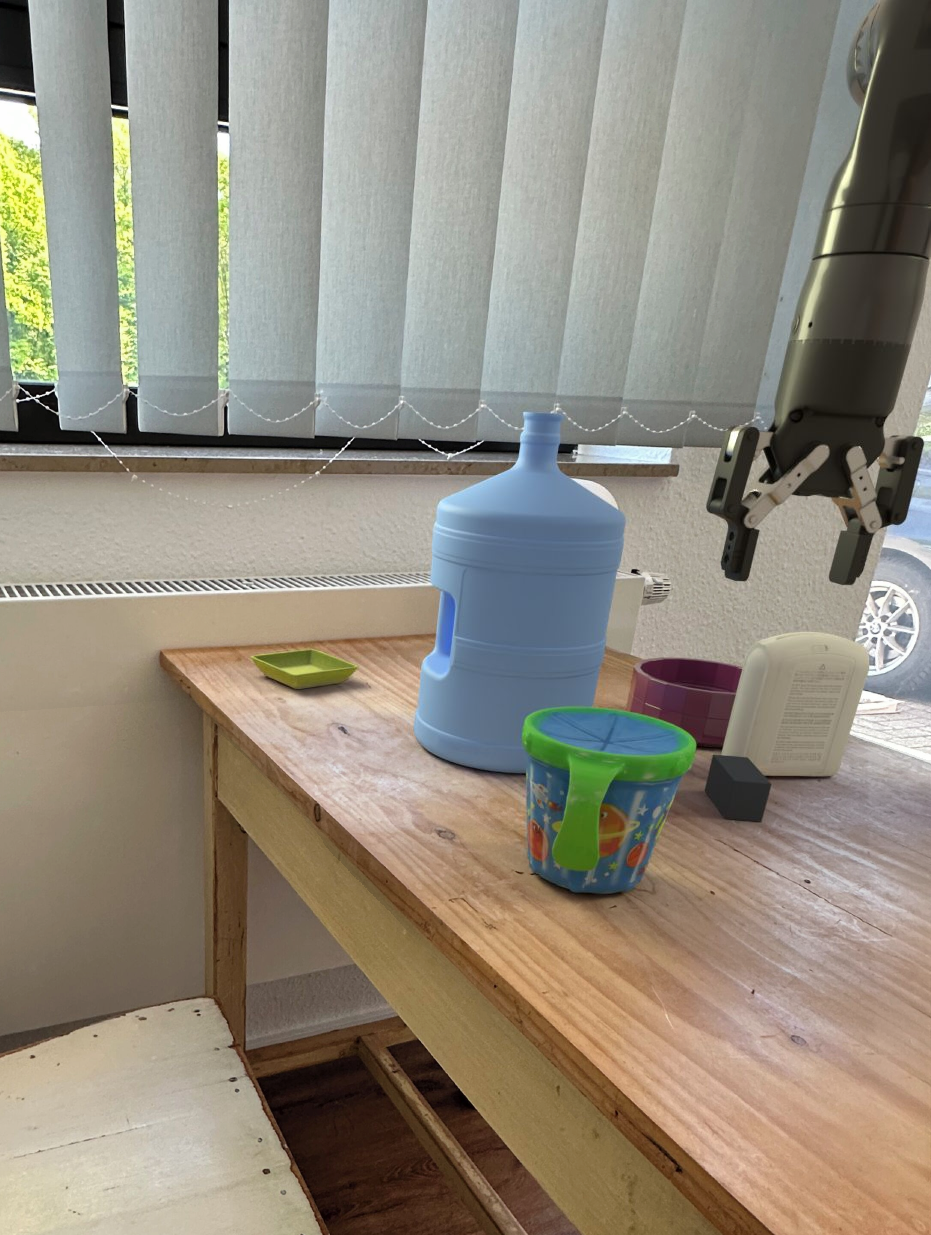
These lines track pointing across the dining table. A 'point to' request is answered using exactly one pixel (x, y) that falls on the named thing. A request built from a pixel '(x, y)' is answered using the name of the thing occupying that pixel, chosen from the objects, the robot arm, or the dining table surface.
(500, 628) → the water jug
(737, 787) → the eraser
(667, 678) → the bowl
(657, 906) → the dining table surface
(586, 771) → the snack cup
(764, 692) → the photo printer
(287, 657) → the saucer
